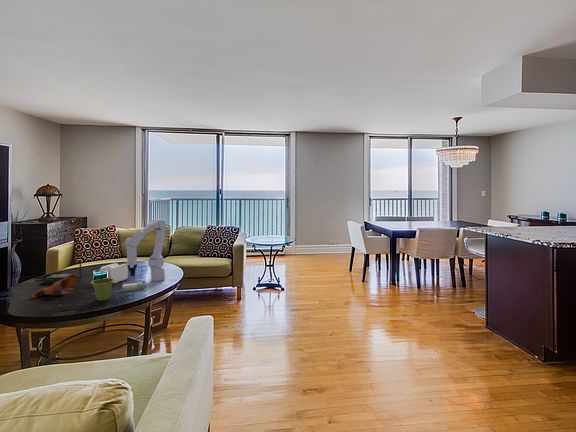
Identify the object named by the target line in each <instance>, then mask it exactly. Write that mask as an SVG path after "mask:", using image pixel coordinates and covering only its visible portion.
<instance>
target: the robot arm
mask: <svg viewBox="0 0 576 432" xmlns="http://www.w3.org/2000/svg"><path fill="white" fill-rule="evenodd" d="M166 227H167V223H166V221H165V220H163V219H151V220H149V221H148V224H147V225H146V226H144V228H142V229H141V230H137V231H135V233H134V234H133V235H131V236H130V237H128V238H126V239H125V240H124V246H125V248H126V258H127V261H126V262H125V264H127V266H128V272H129V273H130V276H131V277H135V276H136V269H137V267H138V257H137V256H138V254H137V246H138V245H139V243H140V242H141V241H142V240H143V239H144V238H145V235H146V234H147V233H149V232H151V230H154V231H155V232H156V236H155V237H156V238H155V242H154V248H153V253H152V255H150V256H149V259H148V261H147V265H148V267H149V269H150V282H151V283H152V282H161V281H165V280H166V279H165V278H166V275H165V266H164V262H165V261H164V259H165V258H164V257H163V256H162V253H163V248H164V241H165V237H166V236H165V235H166Z"/></svg>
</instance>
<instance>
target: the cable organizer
mask: <svg viewBox="0 0 576 432" xmlns="http://www.w3.org/2000/svg"><path fill="white" fill-rule="evenodd" d="M102 271H107V272H108V278H112V279H114V280H113V283H112V284H116V283H119V282H123V281H125V280H126V279H128V278H129V269H128V264H126V263H123V264H119V263H118V262H117V263H111V264H108V265H104V266H101V267H100V268H99V273H100V272H102Z"/></svg>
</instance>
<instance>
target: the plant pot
mask: <svg viewBox="0 0 576 432" xmlns="http://www.w3.org/2000/svg"><path fill="white" fill-rule="evenodd" d="M113 280H114V279H112V278H103V279H100V278H99V279H95V280H91V284H92V287H93V290H94V294H95V297H96V300H97V301H100V302H101V301H106V300H109V299H111V296H112V288H113V287H112V286H113V284H114V283H113Z"/></svg>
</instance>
